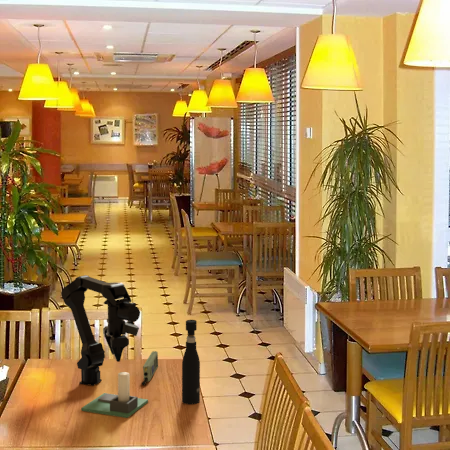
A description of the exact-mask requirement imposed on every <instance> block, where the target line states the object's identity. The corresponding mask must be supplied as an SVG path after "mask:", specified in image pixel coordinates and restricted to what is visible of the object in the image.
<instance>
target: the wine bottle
mask: <svg viewBox="0 0 450 450" xmlns="http://www.w3.org/2000/svg"><path fill="white" fill-rule="evenodd" d="M197 323H198V322H197V320H195V319H186V320H185V331H187V336H186V341H185V351H184V353H183V357H182V363H181V402H182V404H185V405H192V406H193V405H197V404H199V403H200V401H201V397H200V396H201V392H200V391H201V386H200V385H201V382H200V381H201V379H200V378H201V363H200V362H201V361H200V356H199V354H198V353H199V352H198V350H197V341H196V336H195V335H196V333H195V332H196V331H197V326H198V324H197Z"/></svg>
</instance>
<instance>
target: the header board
mask: <svg viewBox="0 0 450 450" xmlns="http://www.w3.org/2000/svg"><path fill="white" fill-rule="evenodd" d="M148 403H149V399H148V398H147V399H146V398H139V397H138V396H134V395H130V401H129V402H127V403H126V402H120V401H118V394H114V393H113V394H112V393H107V392H103V393H102V394H100V395H99V396H97V397H96V398H95V399H93V400H90V402H88V403H86V404H85V405H84V406H82V407H81V409H80V410H81V411H82V412H88V413H93V414H100V415H106V416H111V417H112V416H114V417H119V418H124V419H128V418H129V417H131V416H132V415H133V414H135V412H138V410H140V409H141V408H143V407H144V406H145V405H146V404H148Z"/></svg>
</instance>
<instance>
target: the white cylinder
mask: <svg viewBox="0 0 450 450" xmlns="http://www.w3.org/2000/svg"><path fill="white" fill-rule="evenodd" d="M130 390H131V389H130V373H129V372H126V371H122V372H118V373H117V395H118V401H120V402H126V403H127V402H129V401H130V396H131V395H130V393H131V392H130Z"/></svg>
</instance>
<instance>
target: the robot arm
mask: <svg viewBox="0 0 450 450" xmlns="http://www.w3.org/2000/svg"><path fill="white" fill-rule="evenodd" d="M88 290H90V291H93V292H95V293H98V294H101V296H102V297H103V298H104V299H106V300H104V302H103V304H104V305H107V318H106V322H107V325H105V326H104V327H103V329H102V332H103V336H104V338H105V341H106V343H107V346H108V349H109V350H110V353H111V355H114V357H115V360H116V363H118V362H121V359H122V355H123V352H124V351H123V350H124V349H125V348H126V347H128V346H129V345H130V339H129V338H128V337H127V336H126V334H128V335H132V336H133V337H134V336H135V337H137V335H138V333H139V329H140V327H139V326H138V325H136V324H135V322H137V321H138V320H139V318H140V317H141V316H140V315H141V311H140V309H139V307H138V306H137V304H136V302H132V299H131V296H130V294H129V292H128V291H127V289H126V286H125V284H124V283H123V282H108V281H104V280H101V279H98V278H94V277H91V276H89V275H86V274H85V275H81V276H80V275H79V276H77V277H76V278H75V279H73V281H71V282H70V283H67V285H66V286H64V287H63V288H62V290H61V292H60V293H61V297H62V300H63V303H64V304H65V305H66V306H67V307H68V308H69V309H70V310H71V313H72V316H73V320H74V322H75V326H76V329H77V332H78V335H79V338H80V341H81V344H82V345H81V349H80V355H81V358H80V359H78V361H77V362H76V365H77V368H78V369H79V370H80V371H81V373H80V374H81V375H80V376H81V378H80V379H81V380H80V381H79V383H78V384H80V385H87V386H92V387H93V386H95V385H97V384H99V383H101V382H102V379H101V370H100V367H102V366H103V365H104V361H105V358H106V355H105V353H106V351H105V350H104V347H103V344H102V342H98V341H96V339H95V336H94V333H93V330H92V328H91V324H90V321H89V317H88V315H87V311H86V308H85V306H84V305H85V299H86V294H85V293H86V292H87V291H88Z"/></svg>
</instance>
